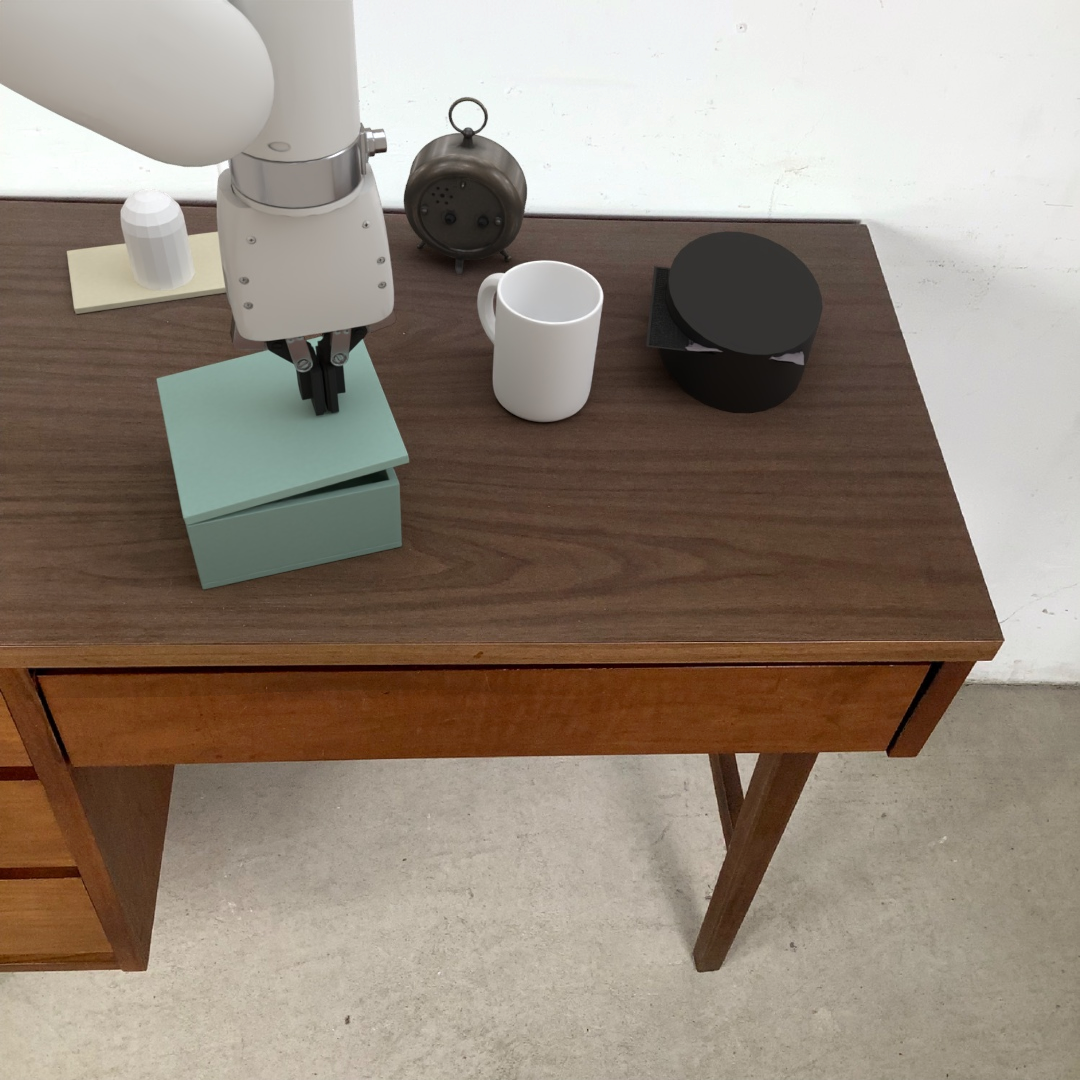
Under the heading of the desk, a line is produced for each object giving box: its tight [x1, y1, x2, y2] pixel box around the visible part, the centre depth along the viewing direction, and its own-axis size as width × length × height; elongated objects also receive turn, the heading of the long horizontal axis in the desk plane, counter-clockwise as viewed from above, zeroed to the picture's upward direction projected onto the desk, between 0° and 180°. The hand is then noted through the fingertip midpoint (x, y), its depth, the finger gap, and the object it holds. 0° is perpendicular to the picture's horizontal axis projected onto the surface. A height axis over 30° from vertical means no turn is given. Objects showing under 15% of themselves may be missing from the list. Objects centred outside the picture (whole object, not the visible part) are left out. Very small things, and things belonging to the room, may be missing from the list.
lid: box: [156, 335, 410, 526], centre depth 74 cm, size 15×14×1 cm
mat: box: [66, 231, 226, 315], centre depth 98 cm, size 20×9×1 cm, turn 110°
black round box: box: [645, 230, 823, 414], centre depth 94 cm, size 14×18×8 cm
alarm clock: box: [403, 96, 528, 275], centre depth 96 cm, size 11×5×16 cm, turn 84°
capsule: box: [120, 188, 195, 291], centre depth 93 cm, size 5×5×8 cm
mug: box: [476, 260, 604, 423], centre depth 87 cm, size 12×8×10 cm
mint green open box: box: [184, 467, 403, 590], centre depth 78 cm, size 14×14×7 cm
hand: (323, 400), depth 74 cm, fingers closed
